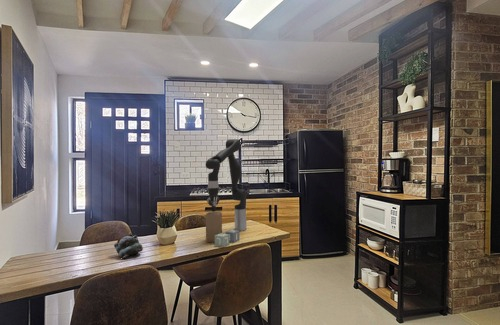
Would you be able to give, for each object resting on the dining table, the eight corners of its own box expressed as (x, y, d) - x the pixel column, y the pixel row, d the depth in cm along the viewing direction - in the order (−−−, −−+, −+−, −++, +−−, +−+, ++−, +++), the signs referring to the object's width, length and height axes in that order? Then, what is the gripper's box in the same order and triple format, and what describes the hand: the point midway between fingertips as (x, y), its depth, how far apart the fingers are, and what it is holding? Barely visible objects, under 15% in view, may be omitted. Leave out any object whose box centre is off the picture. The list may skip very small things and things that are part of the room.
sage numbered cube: (221, 243, 203) (221, 232, 203) (229, 244, 199) (229, 234, 199) (214, 245, 197) (214, 235, 197) (222, 247, 193) (222, 236, 193)
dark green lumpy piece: (116, 261, 169) (110, 238, 173) (120, 262, 180) (114, 241, 184) (142, 250, 174) (135, 228, 178) (145, 252, 185) (138, 232, 189)
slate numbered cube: (231, 239, 213) (231, 229, 213) (239, 240, 209) (239, 230, 209) (225, 241, 207) (225, 231, 207) (233, 243, 203) (233, 232, 203)
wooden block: (222, 238, 214) (221, 211, 214) (219, 242, 204) (219, 214, 204) (209, 238, 215) (208, 211, 215) (205, 242, 205) (205, 214, 205)
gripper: (215, 186, 217) (215, 209, 217) (203, 187, 206) (203, 212, 206) (223, 186, 213) (223, 210, 213) (211, 188, 202) (211, 213, 202)
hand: (213, 211), depth 209 cm, fingers closed
